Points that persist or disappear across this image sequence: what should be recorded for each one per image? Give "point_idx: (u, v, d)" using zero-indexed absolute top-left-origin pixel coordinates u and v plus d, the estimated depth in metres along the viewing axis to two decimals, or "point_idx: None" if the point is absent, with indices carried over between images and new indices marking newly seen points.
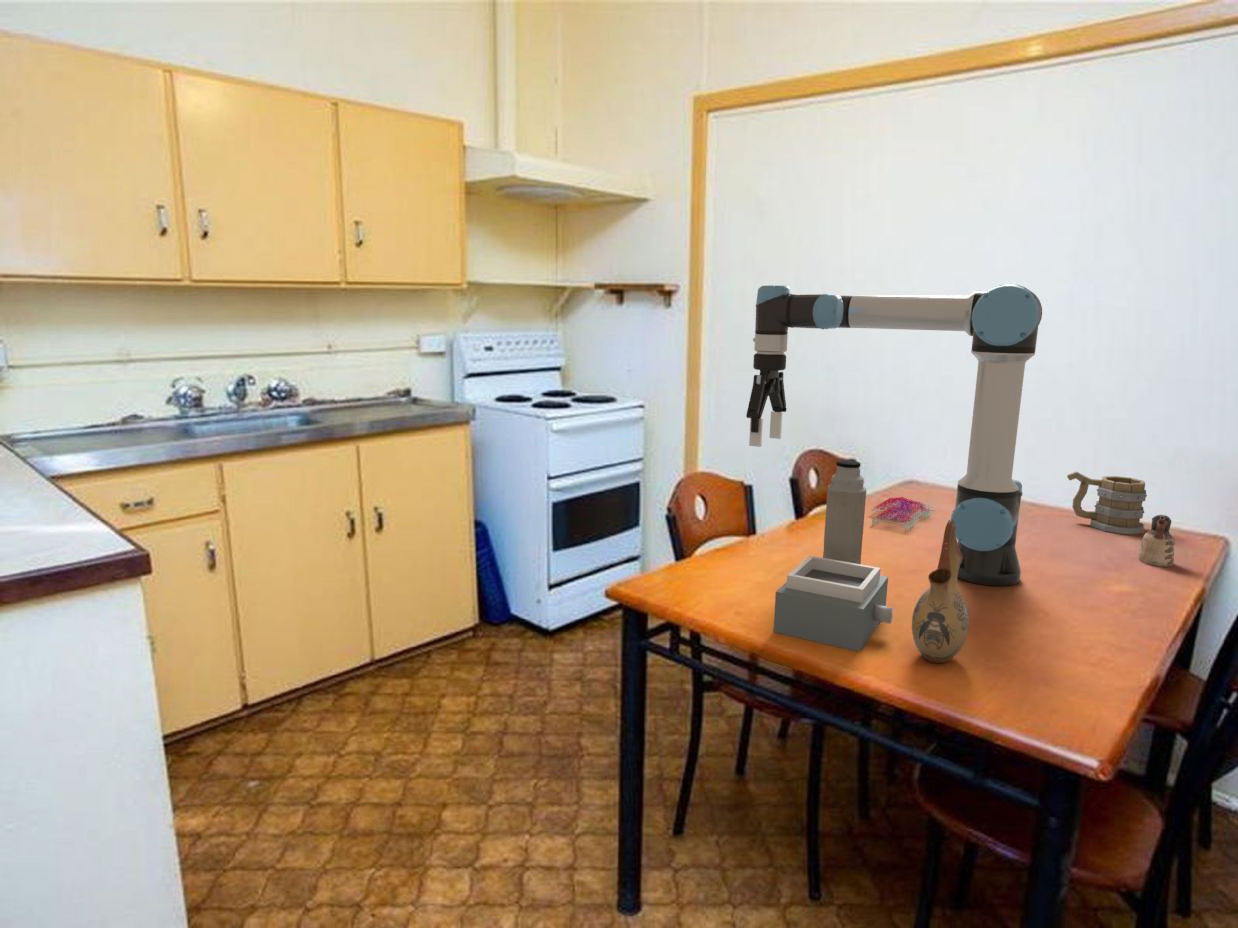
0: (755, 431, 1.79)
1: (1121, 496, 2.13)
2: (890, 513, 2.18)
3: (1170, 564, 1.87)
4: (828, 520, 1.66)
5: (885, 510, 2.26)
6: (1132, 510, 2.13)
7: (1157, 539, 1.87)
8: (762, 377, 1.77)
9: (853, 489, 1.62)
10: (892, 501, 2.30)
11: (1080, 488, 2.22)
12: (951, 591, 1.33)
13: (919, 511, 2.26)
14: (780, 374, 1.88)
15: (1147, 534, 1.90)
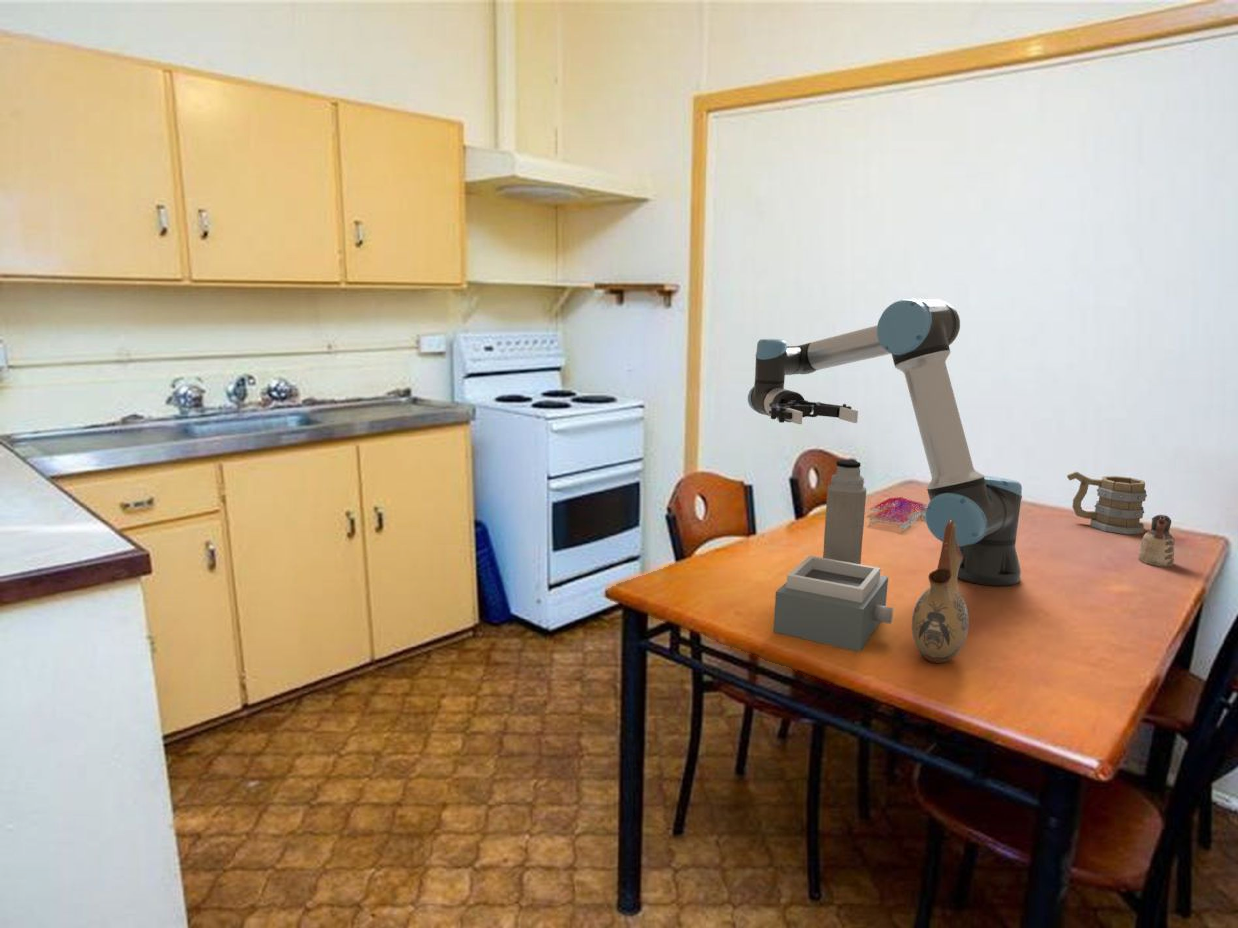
0: (787, 414, 1.73)
1: (1121, 496, 2.13)
2: (887, 513, 2.18)
3: (1170, 564, 1.87)
4: (828, 520, 1.66)
5: (883, 510, 2.27)
6: (1132, 510, 2.13)
7: (1157, 539, 1.87)
8: (769, 404, 1.85)
9: (853, 489, 1.62)
10: (891, 501, 2.30)
11: (1080, 488, 2.22)
12: (951, 591, 1.33)
13: None
14: None
15: (1147, 534, 1.90)
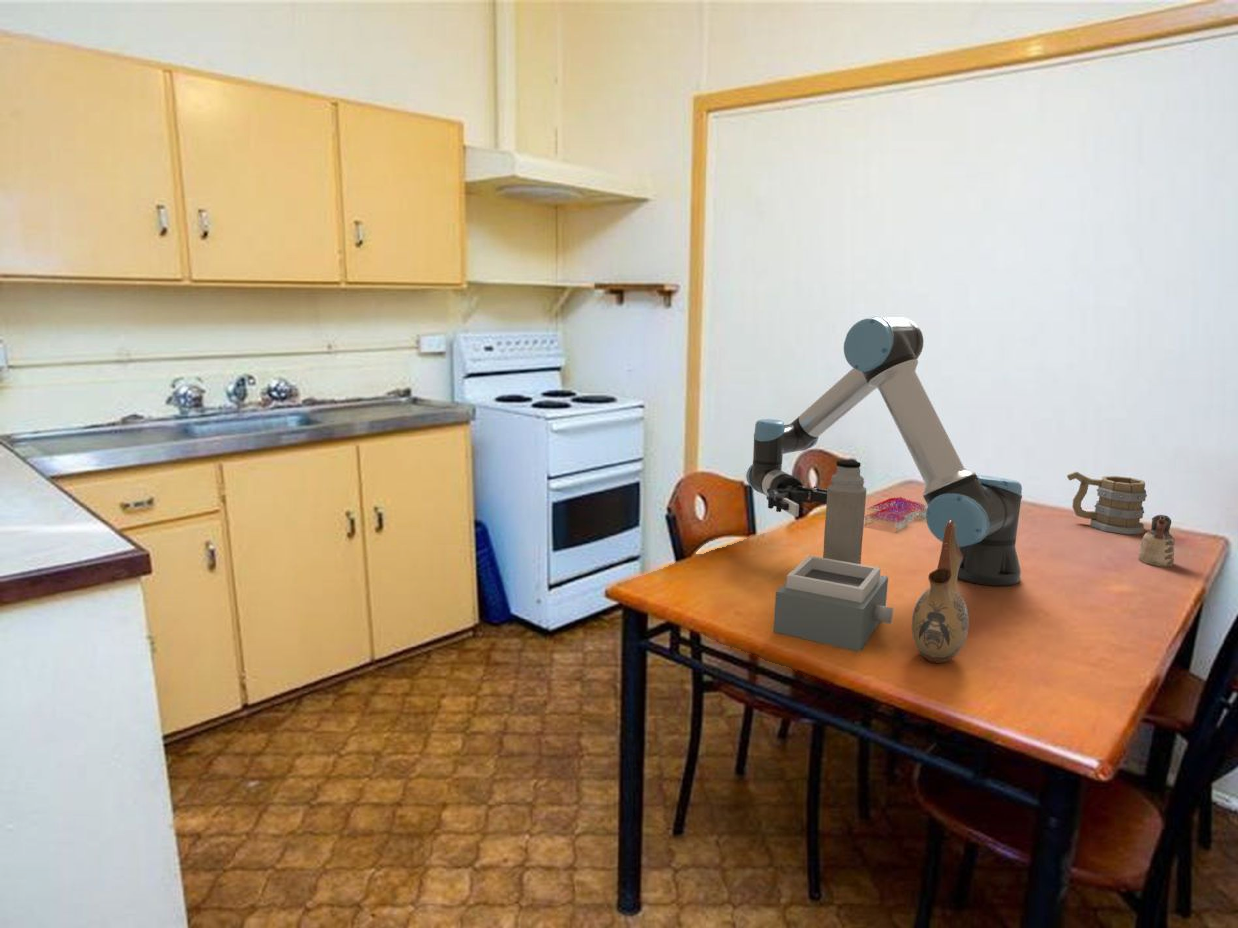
0: (784, 505, 1.76)
1: (1121, 496, 2.13)
2: (883, 512, 2.18)
3: (1170, 564, 1.87)
4: (828, 520, 1.66)
5: (881, 510, 2.27)
6: (1132, 510, 2.13)
7: (1157, 539, 1.87)
8: (767, 490, 1.88)
9: (853, 489, 1.62)
10: (889, 501, 2.30)
11: (1080, 488, 2.22)
12: (951, 591, 1.33)
13: None
14: (813, 488, 1.91)
15: (1147, 534, 1.90)
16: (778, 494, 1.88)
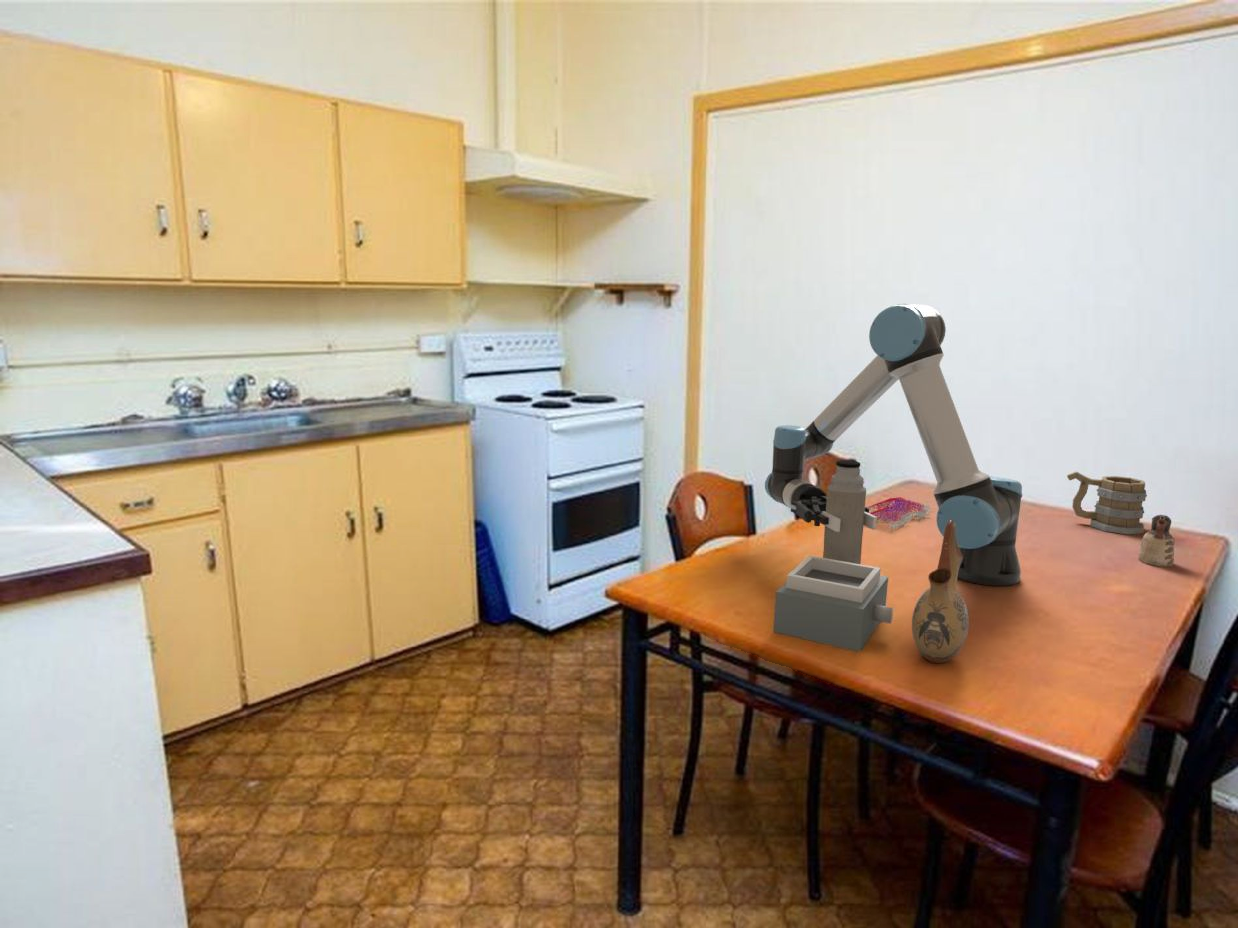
0: (823, 519, 1.64)
1: (1121, 496, 2.13)
2: (879, 512, 2.19)
3: (1170, 564, 1.87)
4: None
5: (879, 509, 2.27)
6: (1132, 510, 2.13)
7: (1157, 539, 1.87)
8: (791, 502, 1.76)
9: (853, 489, 1.62)
10: (888, 501, 2.31)
11: (1080, 488, 2.22)
12: (951, 591, 1.33)
13: None
14: None
15: (1147, 534, 1.90)
16: None
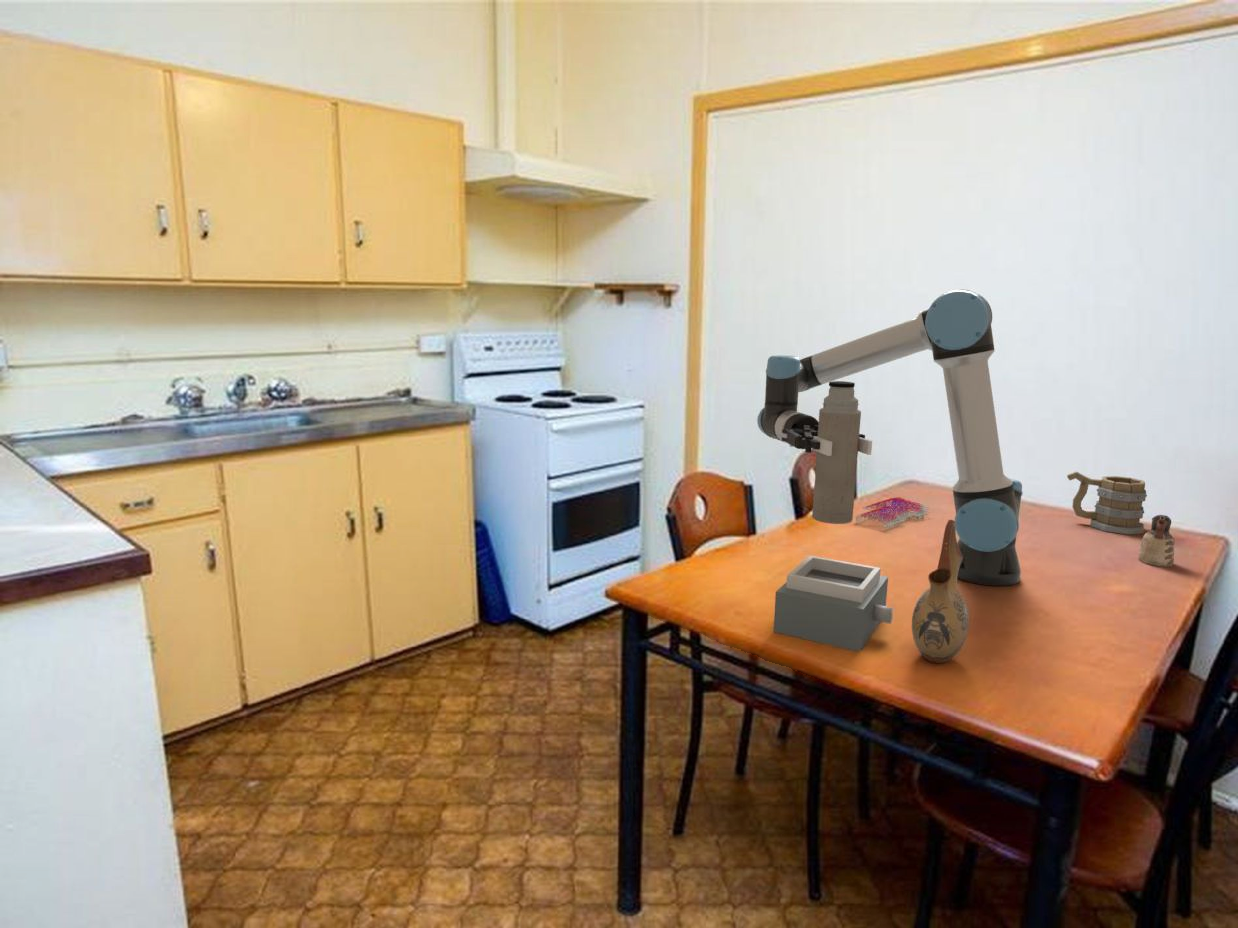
0: (814, 443, 1.53)
1: (1121, 496, 2.13)
2: (875, 511, 2.19)
3: (1170, 564, 1.87)
4: None
5: None
6: (1132, 510, 2.13)
7: (1157, 539, 1.87)
8: (782, 431, 1.65)
9: (846, 410, 1.51)
10: (886, 501, 2.31)
11: (1080, 488, 2.22)
12: (951, 591, 1.33)
13: None
14: None
15: (1147, 534, 1.90)
16: None
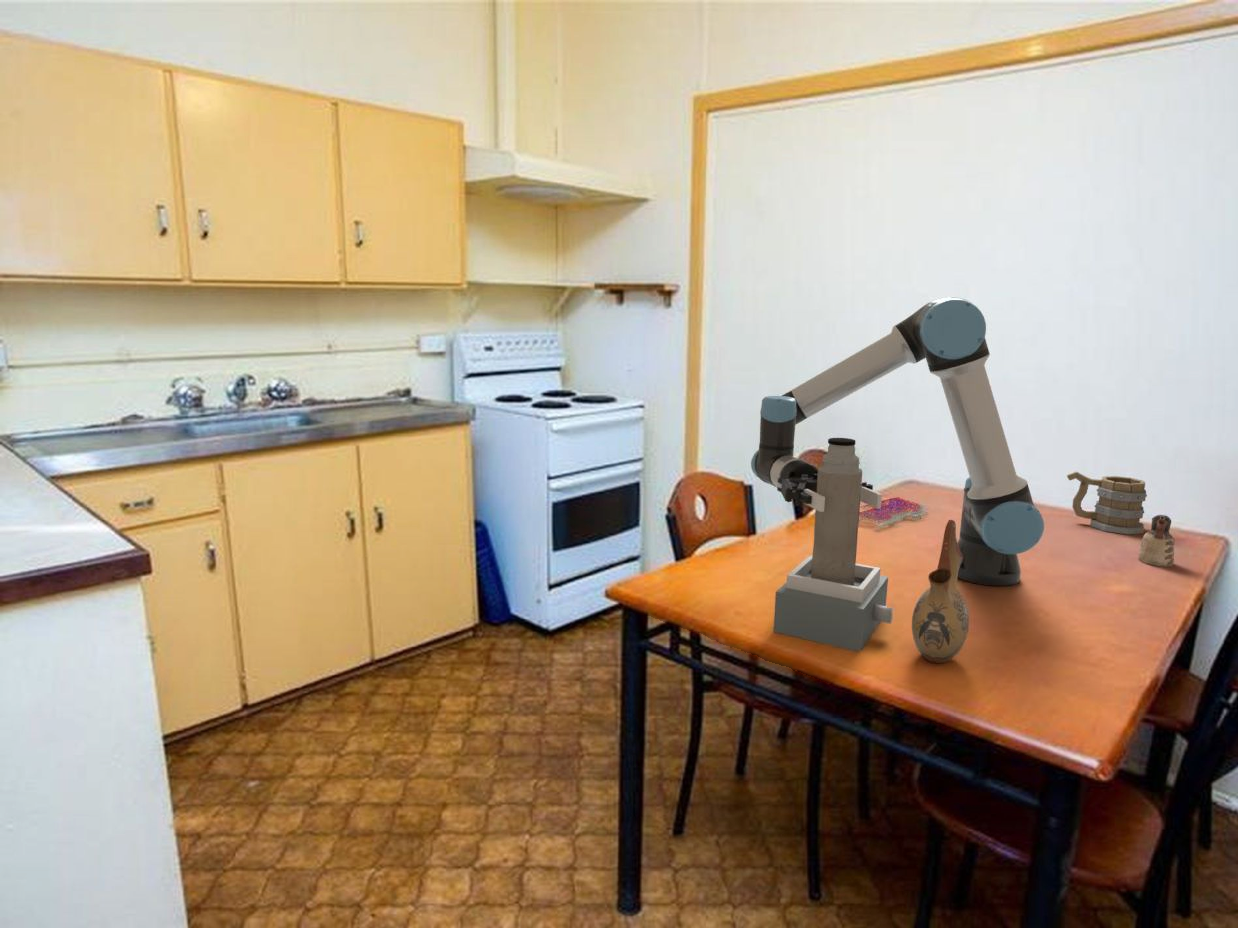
0: (805, 497, 1.43)
1: (1121, 496, 2.13)
2: (869, 511, 2.20)
3: (1170, 564, 1.87)
4: None
5: (873, 508, 2.28)
6: (1132, 510, 2.13)
7: (1157, 539, 1.87)
8: (777, 480, 1.55)
9: (847, 470, 1.41)
10: (884, 500, 2.31)
11: (1080, 488, 2.22)
12: (951, 591, 1.33)
13: (908, 511, 2.25)
14: None
15: (1147, 534, 1.90)
16: (790, 484, 1.56)
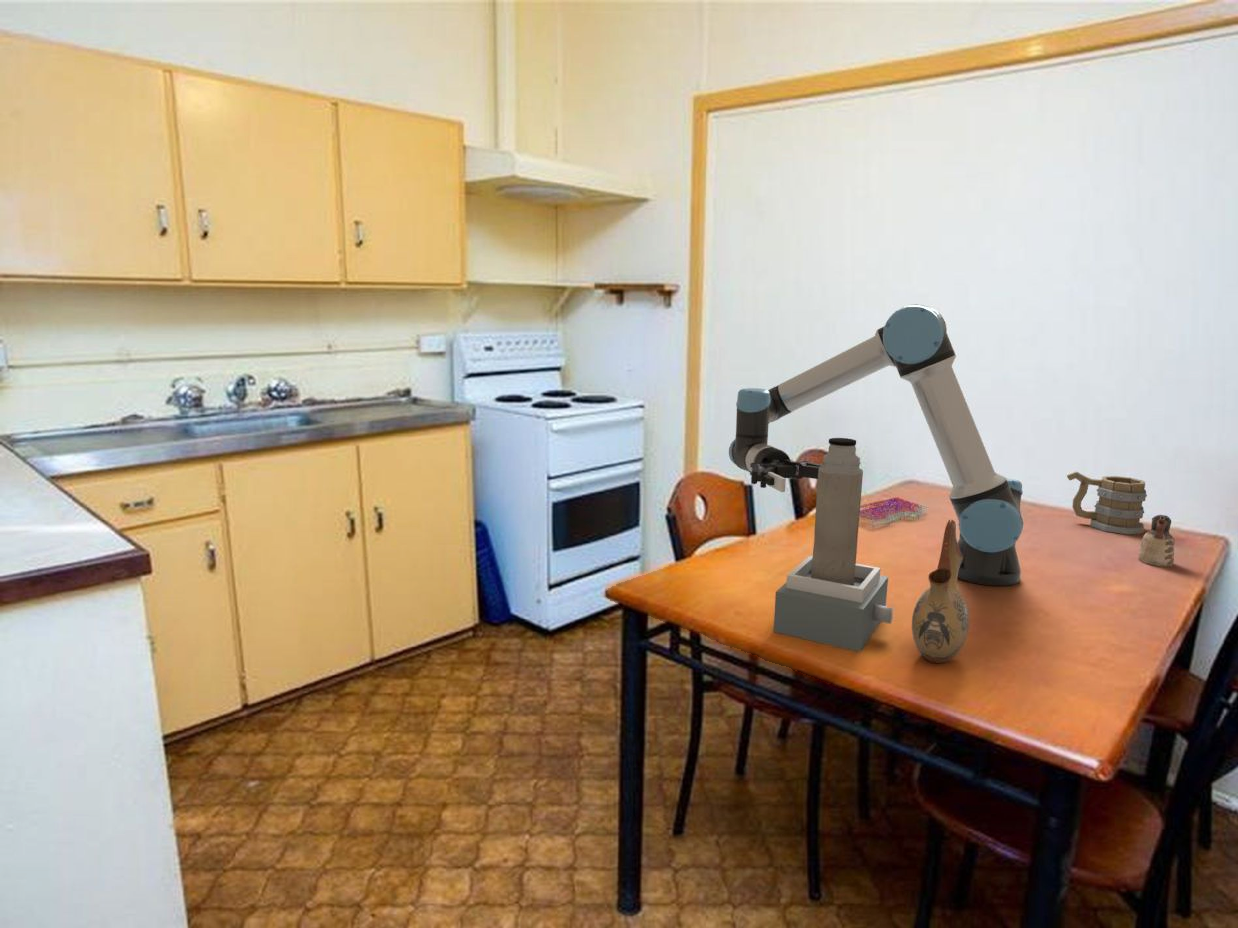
0: (768, 479, 1.56)
1: (1121, 496, 2.13)
2: (865, 510, 2.21)
3: (1170, 564, 1.87)
4: (819, 506, 1.45)
5: (870, 508, 2.29)
6: (1132, 510, 2.13)
7: (1157, 539, 1.87)
8: (750, 465, 1.68)
9: (848, 470, 1.41)
10: None
11: (1080, 488, 2.22)
12: (951, 591, 1.33)
13: (906, 511, 2.25)
14: (802, 463, 1.71)
15: (1147, 534, 1.90)
16: (763, 469, 1.68)
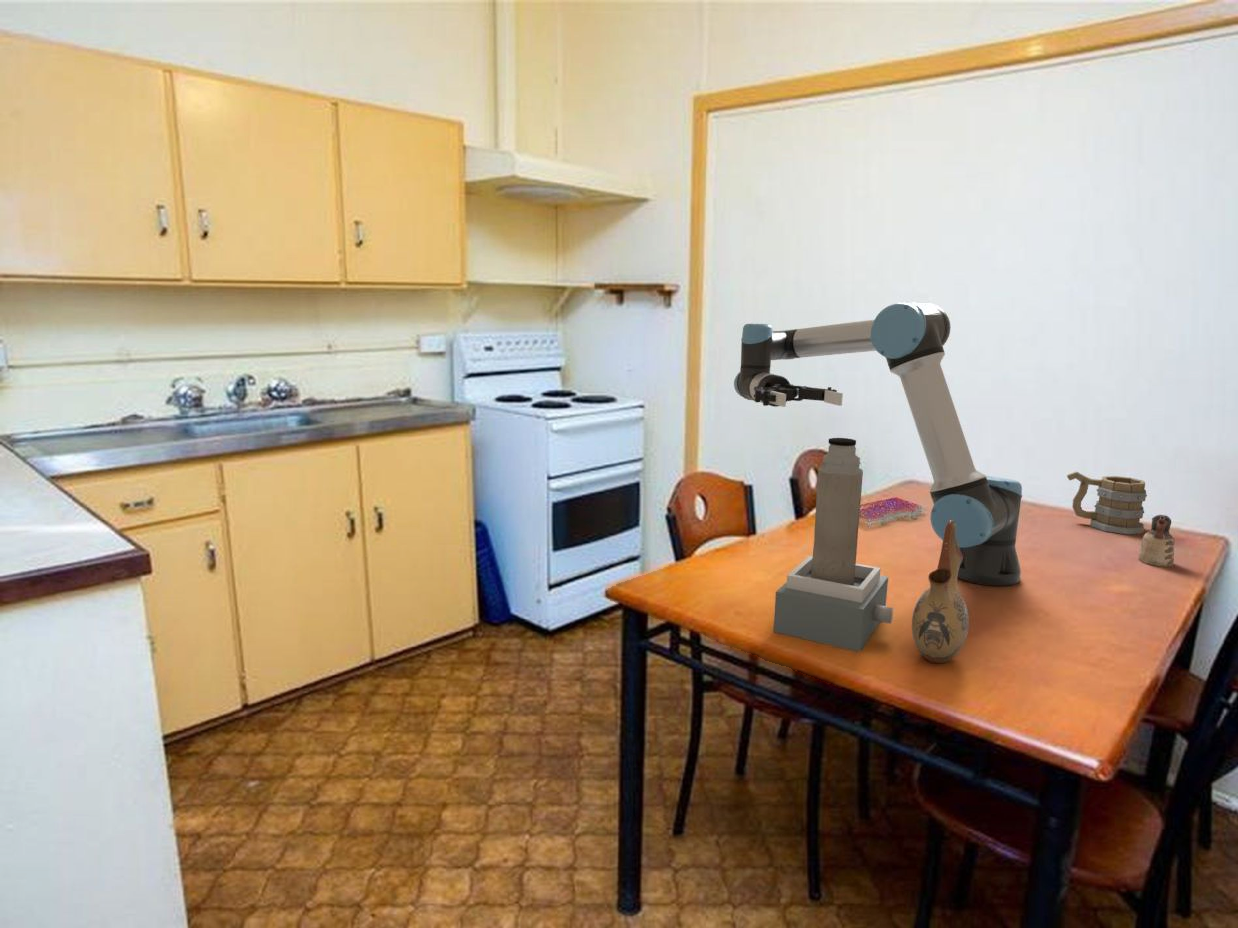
0: (770, 396, 1.71)
1: (1121, 496, 2.13)
2: (862, 509, 2.21)
3: (1170, 564, 1.87)
4: (818, 506, 1.45)
5: (868, 508, 2.29)
6: (1132, 510, 2.13)
7: (1157, 539, 1.87)
8: (754, 388, 1.83)
9: (848, 470, 1.41)
10: (881, 500, 2.31)
11: (1080, 488, 2.22)
12: (951, 591, 1.33)
13: None
14: None
15: (1147, 534, 1.90)
16: None
